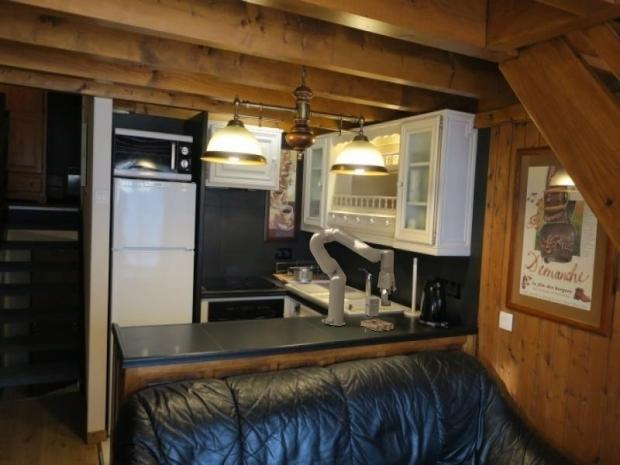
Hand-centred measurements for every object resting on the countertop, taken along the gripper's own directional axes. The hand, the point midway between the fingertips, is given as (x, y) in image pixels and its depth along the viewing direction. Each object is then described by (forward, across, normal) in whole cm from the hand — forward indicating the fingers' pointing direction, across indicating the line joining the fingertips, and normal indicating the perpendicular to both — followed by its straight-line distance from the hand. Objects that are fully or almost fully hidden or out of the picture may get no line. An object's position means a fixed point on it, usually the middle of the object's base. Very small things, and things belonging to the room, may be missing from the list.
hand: (386, 299), depth 299 cm
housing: (+18, -3, -4) cm, 19 cm away
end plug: (+4, 0, 0) cm, 4 cm away
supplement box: (+18, -29, +16) cm, 38 cm away
